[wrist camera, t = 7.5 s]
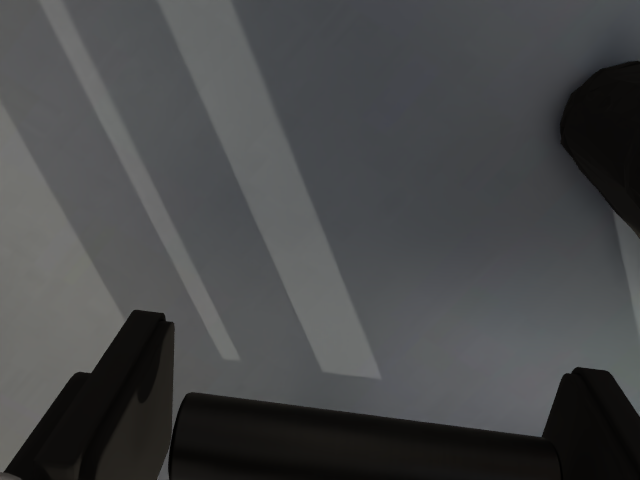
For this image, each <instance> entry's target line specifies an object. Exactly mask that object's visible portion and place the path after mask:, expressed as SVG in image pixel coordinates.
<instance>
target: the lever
mask: <svg viewBox="0 0 640 480" xmlns="http://www.w3.org/2000/svg"><path fill="white" fill-rule="evenodd" d="M168 473H169V480H563V472H562V466H561V462H560V458H559V455H558V452H557V450H556V448H555V446H554V445H553V444H552V443H551V442H550V441H549V440H547V439H545V438H543V437H535V436H527V435H520V434H512V433H504V432H497V431H489V430H481V429H473V428H466V427H458V426H450V425H442V424H435V423H427V422H419V421H412V420H404V419H396V418H388V417H381V416H373V415H365V414H357V413H350V412H342V411H334V410H327V409H319V408H311V407H303V406H296V405H288V404H280V403H272V402H265V401H257V400H249V399H242V398H234V397H226V396H218V395H211V394H203V393H195V392H191V393H188V394H186V396H185V397H184V399H183V401H182V403H181V405H180V408H179V411H178V414H177V417H176V421H175V425H174V429H173V434H172V439H171V445H170V452H169V462H168Z"/></svg>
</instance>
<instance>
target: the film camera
mask: <svg viewBox="0 0 640 480" xmlns="http://www.w3.org/2000/svg"><path fill="white" fill-rule="evenodd" d="M560 133H561V145H562V146H563V147H564V148H565V150H566V151H567V152H568V153H569V155H570V156H571V157H572V158H573V160H574V161H575V163H576V164H577V166H578V168H579V169H580V170H581V172H582V173H583V174H584V175H585V176H586V177H587V178H588V179H589V181H590V182H591V183H592V184H593V185H594V186H595V187H596V188H597V189H598V191H599V192H600V193H601V194H602V196H603V197H604V198H605V200H606V201H607V202H608V203H609V205H610V206H611V207H612V208H613V210H614V211H615V212H616V213H617V214H618V215H619V216H620V217H621V218H622V219H623V220H624V221H625V222H626V223H627V224H628V225H629V226H630V227H631V228H632V229H633V231H634V232H635V233H636V234H637V236H638V237H639V238H640V62H639V61H635V62H627V63H624V64H620V65H616V66H612V67H608V68H604V69H601V70H599V71H598V72H596V73H595V74H593V75H592V76H591V77H590V78H589V79H588V80H587V81H586V82H585V83H584V84H583V85H582V86H581V87H579V88H578V89H577V90H576V91H574V92H573V93H572V94H571V96H570V98H569V100H568V102H567V105H566V107H565V110H564V113H563V116H562V119H561V123H560Z"/></svg>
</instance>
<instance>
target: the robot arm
mask: <svg viewBox="0 0 640 480" xmlns="http://www.w3.org/2000/svg"><path fill="white" fill-rule="evenodd" d="M174 332H175V328H174V323H173V322H168V321H166V318H165V315H164V313H157V312H149V311H141V310H134V311H133V312H132V313H131V315H130V316H129V318H128V319H127V321H126V322H125V323H124V325H123V326H122V328H121V329H120V331H119V332H118V334H117V335H116V337H115V338H114V340H113V341H112V343H111V344H110V346H109V347H108V349H107V350H106V352H105V353H104V355H103V356H102V358H101V359H100V361H99V362H98V364H97V365H96V367H95V368H94V370H93V371H92V373H84V372H78V373H75V374H74V375H73V376H72V377H71V378H70V380H69V381H68V383H67V384H66V385H65V387H64V388H63V390H62V391H61V392H60V394H59V395H58V397H57V398H56V399H55V401H54V402H53V404H52V405H51V406H50V408H49V409H48V411H47V412H46V413H45V415H44V416H43V418H42V419H41V420H40V422H39V423H38V425H37V426H36V427H35V429H34V430H33V432H32V433H31V434H30V436H29V437H28V439H27V440H26V442H25V443H24V444H23V446H22V447H21V449H20V450H19V451H18V453H17V454H16V456H15V457H14V458H13V460H12V461H11V463H10V464H9V465H8V467H7V468H6V470H5V471H4V472H3V473H2V472H0V480H157V477H158V475H159V472H160V470H161V467H162V465H163V462H164V459H165V457H166V454H167V452H168V449H169V445H170V440H171V433H172V402H173V367H174ZM542 437H543V438H545V439H547V440H549V441H550V442H551V443H552V444H553V445H554V446H555V448H556V450H557V452H558V455H559V458H560V462H561V466H562V472H563V480H640V417H639V415H638V414H637V412H636V411H635V409H634V408H633V406H632V405H631V403H630V402H629V400H628V399H627V397H626V396H625V394H624V393H623V391H622V390H621V388H620V387H619V385H618V384H617V382H616V381H615V379H614V378H613V376H612V375H611V374H610V373H609V372H608V371H604V370H596V369H589V368H581V367H577V368H575V369H574V370H573V371H572V373H571V374H569V373H566V374H564V375H563V377H562V379H561V382H560V385H559V388H558V390H557V393H556V396H555V399H554V402H553V405H552V408H551V411H550V414H549V417H548V420H547V423H546V426H545V429H544V432H543V435H542Z"/></svg>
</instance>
